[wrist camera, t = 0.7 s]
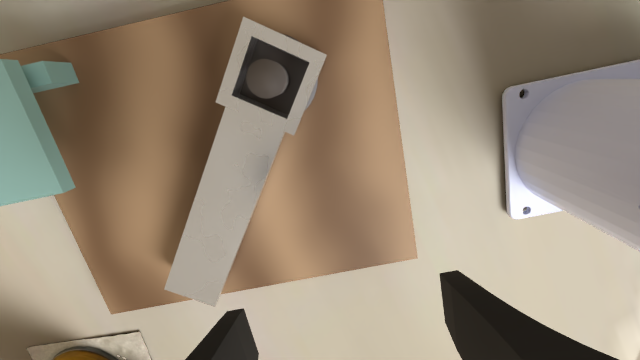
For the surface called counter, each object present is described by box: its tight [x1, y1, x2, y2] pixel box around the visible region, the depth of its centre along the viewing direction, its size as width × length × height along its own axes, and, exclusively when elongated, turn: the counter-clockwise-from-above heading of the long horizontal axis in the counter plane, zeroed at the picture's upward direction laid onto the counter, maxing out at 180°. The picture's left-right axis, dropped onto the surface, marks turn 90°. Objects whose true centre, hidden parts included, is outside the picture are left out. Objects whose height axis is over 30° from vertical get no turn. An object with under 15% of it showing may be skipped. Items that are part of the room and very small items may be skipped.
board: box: [0, 0, 418, 314], centre depth 17 cm, size 20×16×4 cm
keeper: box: [0, 59, 79, 206], centre depth 17 cm, size 6×6×4 cm
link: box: [164, 17, 327, 307], centre depth 17 cm, size 15×4×2 cm, turn 157°
